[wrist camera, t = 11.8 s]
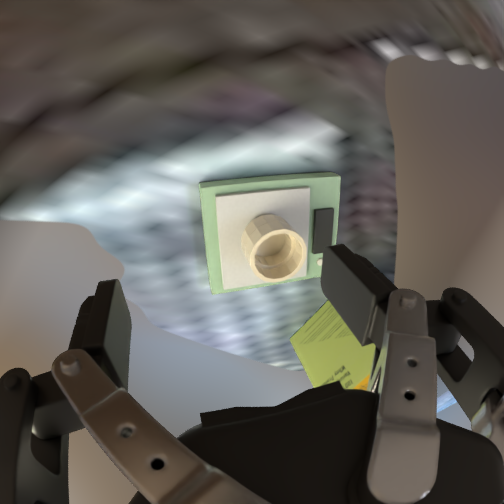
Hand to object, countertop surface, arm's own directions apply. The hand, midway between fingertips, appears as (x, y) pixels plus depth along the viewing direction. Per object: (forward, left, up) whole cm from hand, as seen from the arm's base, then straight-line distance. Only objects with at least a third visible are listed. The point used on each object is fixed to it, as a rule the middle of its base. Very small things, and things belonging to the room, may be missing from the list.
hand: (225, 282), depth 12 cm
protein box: (+27, +21, -26) cm, 43 cm away
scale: (+9, +9, -26) cm, 29 cm away
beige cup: (+9, +8, -22) cm, 25 cm away
